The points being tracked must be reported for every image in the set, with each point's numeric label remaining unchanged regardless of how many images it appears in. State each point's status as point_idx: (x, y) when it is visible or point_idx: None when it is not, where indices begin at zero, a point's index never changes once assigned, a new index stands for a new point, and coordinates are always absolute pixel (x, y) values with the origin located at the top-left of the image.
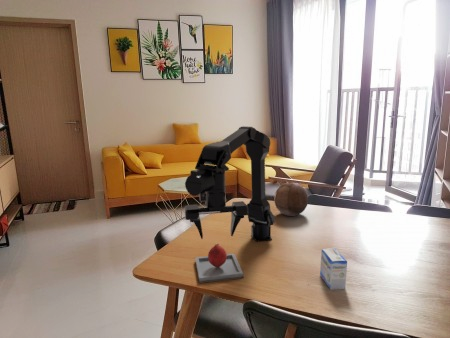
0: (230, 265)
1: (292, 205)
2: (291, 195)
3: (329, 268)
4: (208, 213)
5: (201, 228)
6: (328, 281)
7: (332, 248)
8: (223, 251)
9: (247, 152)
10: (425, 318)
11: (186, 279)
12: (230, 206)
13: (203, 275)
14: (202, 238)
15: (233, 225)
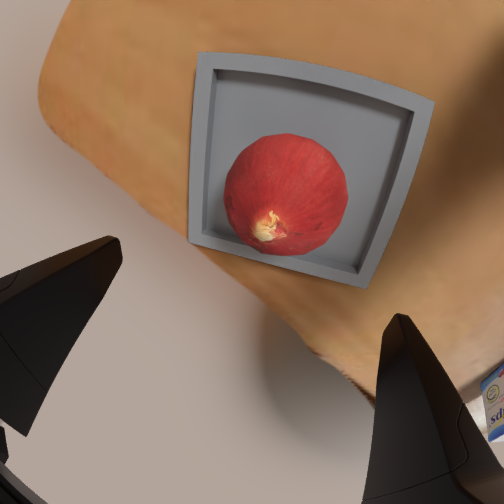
0: (364, 182)
1: None
2: None
3: (493, 417)
4: (34, 496)
5: (61, 364)
6: (489, 388)
7: None
8: (312, 248)
9: None
10: (480, 430)
11: (155, 190)
12: None
13: (214, 206)
14: (119, 266)
15: (368, 470)
